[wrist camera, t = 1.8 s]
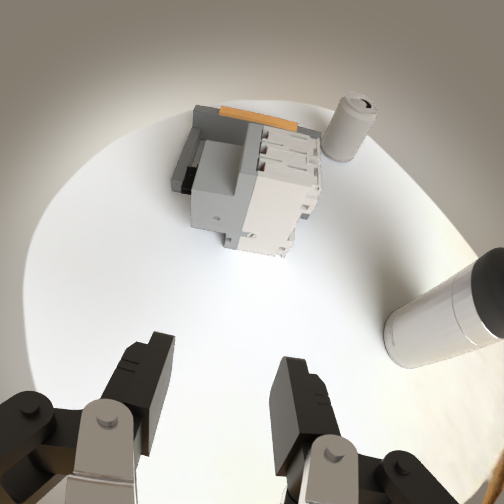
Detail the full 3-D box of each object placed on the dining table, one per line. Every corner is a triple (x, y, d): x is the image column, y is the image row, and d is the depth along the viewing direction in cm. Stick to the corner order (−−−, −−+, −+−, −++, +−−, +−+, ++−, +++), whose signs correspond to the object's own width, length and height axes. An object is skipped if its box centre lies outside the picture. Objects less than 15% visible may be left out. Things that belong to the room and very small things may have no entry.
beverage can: (357, 165, 54) (386, 117, 43) (325, 164, 52) (352, 112, 42) (345, 140, 56) (370, 93, 46) (315, 138, 55) (337, 87, 44)
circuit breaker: (190, 194, 45) (192, 113, 31) (287, 212, 46) (321, 138, 33) (178, 239, 41) (174, 162, 28) (284, 258, 43) (324, 190, 29)
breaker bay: (309, 157, 52) (322, 129, 46) (306, 219, 46) (322, 192, 40) (194, 132, 50) (196, 101, 45) (171, 190, 44) (170, 160, 39)
